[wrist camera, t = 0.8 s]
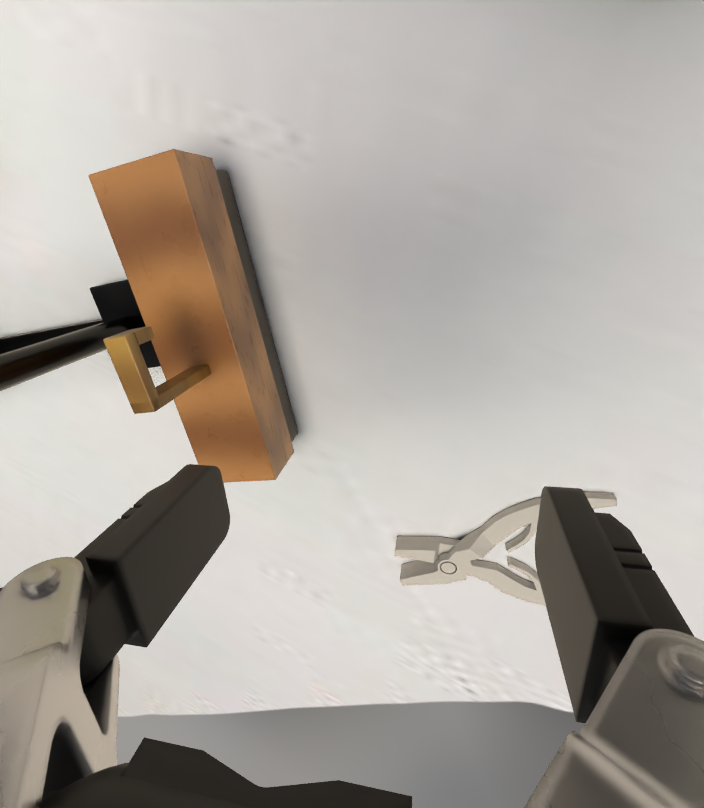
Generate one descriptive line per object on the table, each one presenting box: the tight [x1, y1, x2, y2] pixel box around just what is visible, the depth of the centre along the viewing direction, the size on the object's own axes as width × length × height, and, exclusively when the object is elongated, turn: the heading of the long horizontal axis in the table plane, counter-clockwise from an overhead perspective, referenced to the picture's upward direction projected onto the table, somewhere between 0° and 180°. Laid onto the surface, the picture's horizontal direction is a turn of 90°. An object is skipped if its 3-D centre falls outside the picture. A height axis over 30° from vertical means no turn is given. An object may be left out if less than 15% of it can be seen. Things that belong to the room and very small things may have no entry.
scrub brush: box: [89, 149, 298, 482], centre depth 23 cm, size 18×5×11 cm, turn 11°
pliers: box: [395, 492, 617, 606], centre depth 30 cm, size 10×2×15 cm
